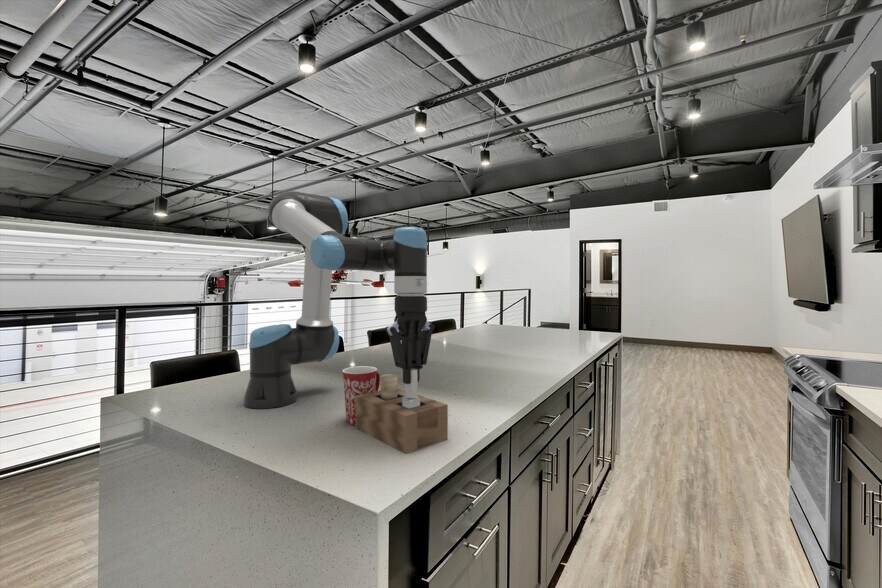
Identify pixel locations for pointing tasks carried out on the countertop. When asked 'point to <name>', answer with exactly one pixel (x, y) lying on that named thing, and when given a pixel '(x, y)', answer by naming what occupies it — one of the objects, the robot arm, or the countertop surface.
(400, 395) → the socket block
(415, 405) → the steel peg
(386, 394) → the beech peg
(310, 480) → the countertop surface
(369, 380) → the mug
